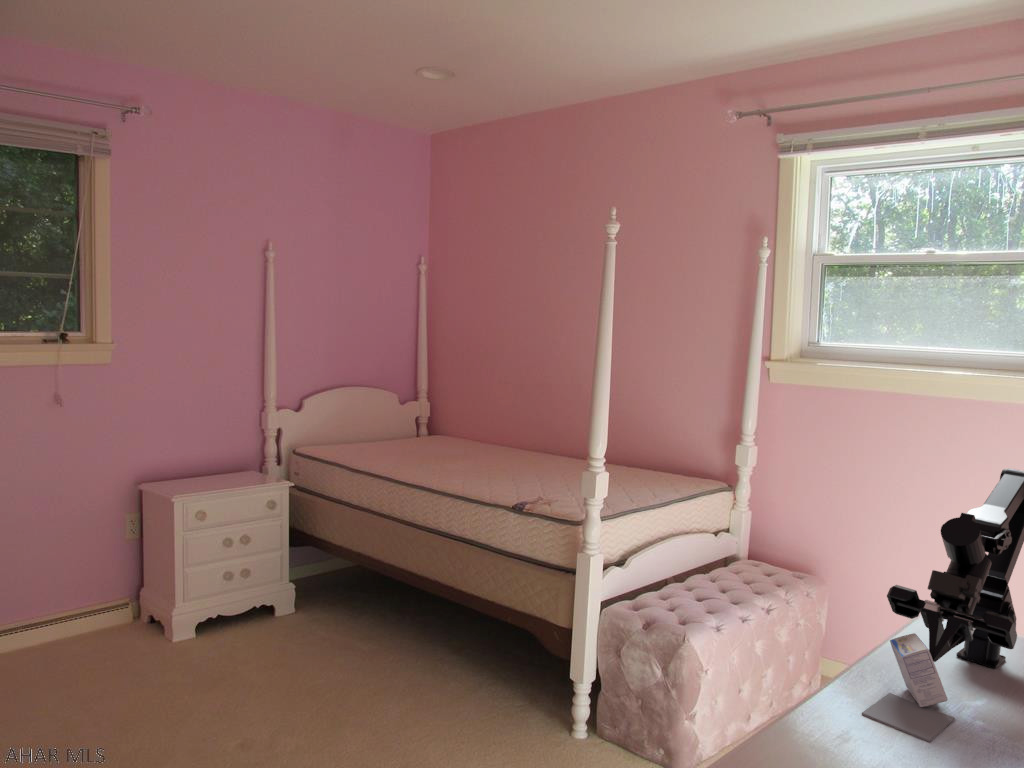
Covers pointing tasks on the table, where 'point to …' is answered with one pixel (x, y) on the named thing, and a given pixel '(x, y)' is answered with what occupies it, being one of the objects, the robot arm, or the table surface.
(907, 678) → the medicine box
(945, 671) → the table surface
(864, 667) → the table surface
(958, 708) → the table surface
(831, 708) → the table surface
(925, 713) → the mat
